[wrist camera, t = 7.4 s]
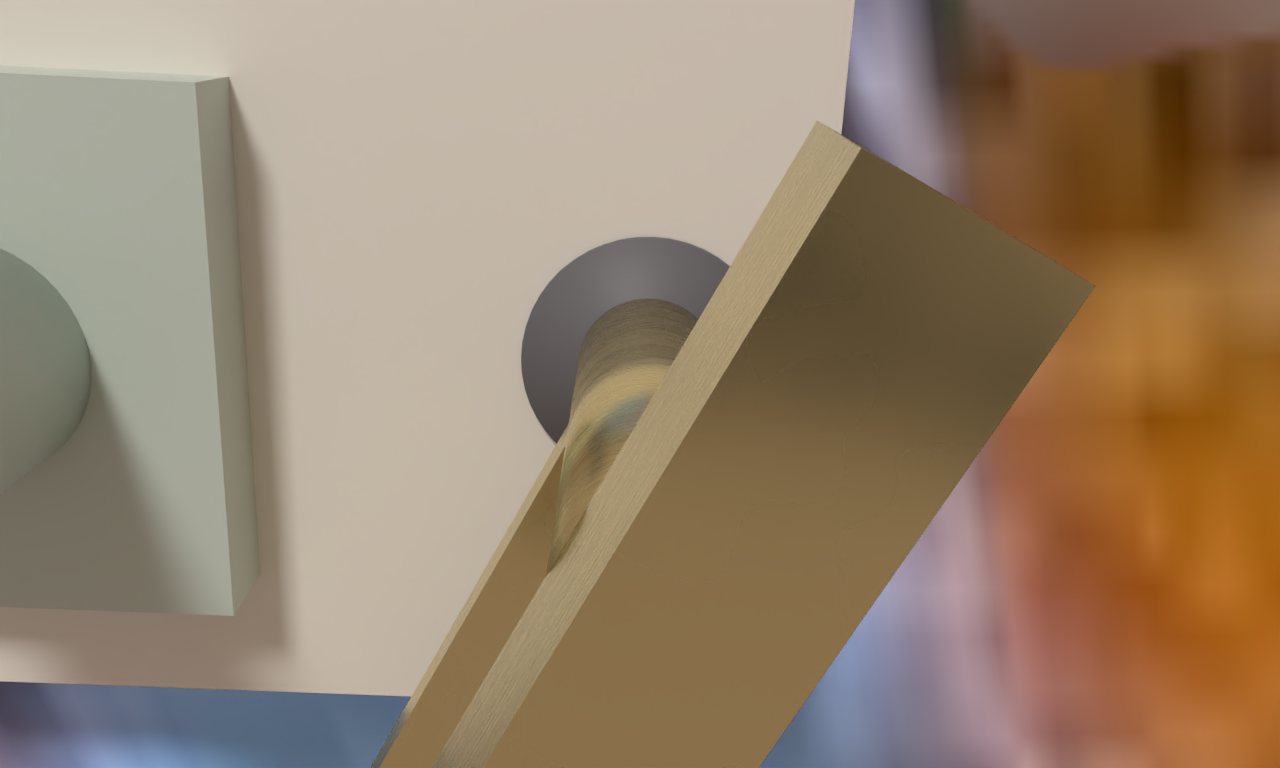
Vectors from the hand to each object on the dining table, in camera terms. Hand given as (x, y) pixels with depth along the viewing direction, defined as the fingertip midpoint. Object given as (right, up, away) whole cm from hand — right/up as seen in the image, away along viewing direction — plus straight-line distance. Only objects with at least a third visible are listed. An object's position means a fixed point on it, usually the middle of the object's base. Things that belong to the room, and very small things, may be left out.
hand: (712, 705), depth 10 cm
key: (-1, +2, +10) cm, 11 cm away
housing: (-7, +5, +14) cm, 16 cm away
